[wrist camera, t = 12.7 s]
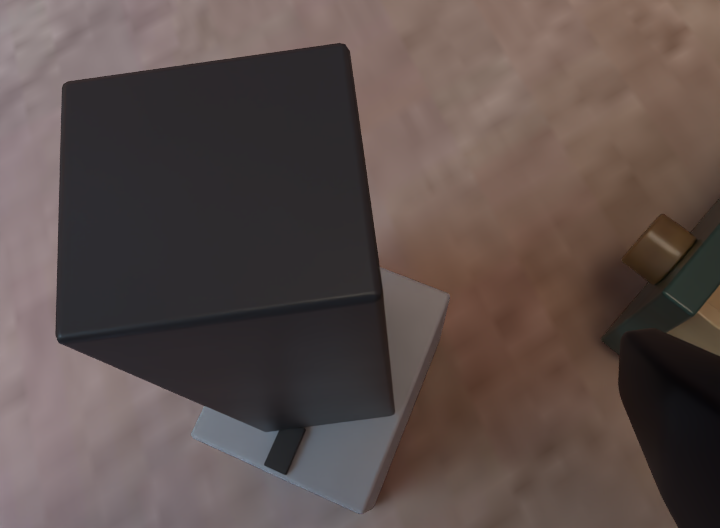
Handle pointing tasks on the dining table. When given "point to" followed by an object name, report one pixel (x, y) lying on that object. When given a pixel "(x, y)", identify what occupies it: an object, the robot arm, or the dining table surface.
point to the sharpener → (244, 262)
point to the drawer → (676, 283)
